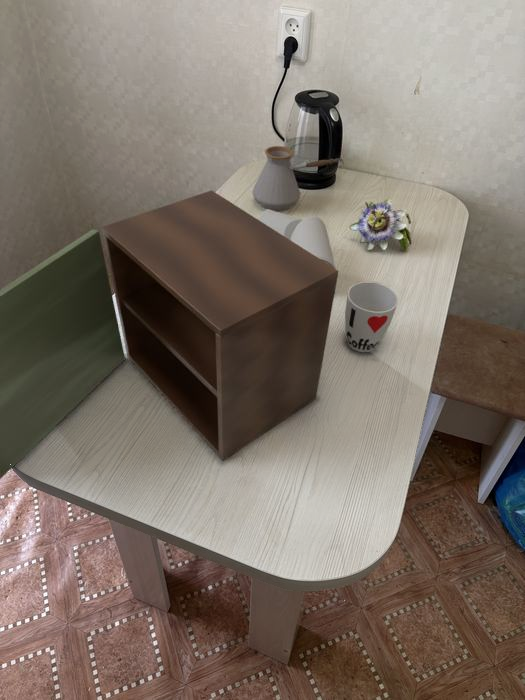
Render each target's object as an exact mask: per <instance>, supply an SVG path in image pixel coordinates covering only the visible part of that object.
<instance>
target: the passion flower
mask: <svg viewBox="0 0 525 700" xmlns="http://www.w3.org/2000/svg"><path fill="white" fill-rule="evenodd" d="M392 205H393V201H392V198H391V197H389V196H388V197H386V199H384V200H383V202H380V203H378V202H377V203H375V202H374V201H373V200H372V201H370V202H369V204H368V202H367V201H365V206H366V207H365V209H361V211H360V213H361V215H362V217H361V218H359V219H358V221H357V222H354V223H352V224H351V225H349V229H350V230H351V231H356V232H357V231H358V232H359V233H360V235H361V236H360V241H359V244H367V247H366V248H367V249H366V251H369V252H370V251H372V250H374V249H375V247H376V246H377V244H378V245H379V247H380V249H381V250H383V251H386V250H387V249H388V247H389V245H390V242H391V239H394V240H398V242H399V245H400V248H401V250H402V251H406V250H408V246H410V245H412V237H411V232H410V230H409V229H408V228H407V224H406V223H405V222H403V221H401V220H400V219H401V218H403V217H406V219H407V221H408V225H411V224H412V219H411V217H410V214H409V213H407V210H406V209H397V210H393V209H391V208H392ZM408 244H409V245H408Z"/></svg>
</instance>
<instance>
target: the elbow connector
mask: <svg viewBox="0 0 525 700" xmlns="http://www.w3.org/2000/svg"><path fill="white" fill-rule="evenodd" d="M257 219H258V220H259V221H261V222H262V223H264V224H266V225H267V226H269V227H270V228H272V229H273V230H275V231H277V232H278V233H280V234H281V235H283V236H285V237H286V238H288V239H289V240H291V241H292V242H294V243H296V244H297V245H299V246H300V247H302V248H303V249H305V250H307V251H308V252H310V253H311V254H313V255H314V256H316V257H318V258H319V259H321V260H322V261H324V262H325V263H327V264H329V265H330V266H332V267H333V268H335V269H336V265H335V260H334V256H333V251H332V247H331V243H330V239H329V235H328V230H327V227H326V224H325V222H324V221H323V220H322V219H321V218H320V217H318V216H316V215H309V216H306V217H304V218H300V217H297V216H293V215H289V214H286V213H283V212H276V211H273V210H270V209H264V210H263V211H262V212H261V214H260V215H259V217H258V218H257ZM336 270H337V269H336Z"/></svg>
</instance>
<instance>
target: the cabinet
mask: <svg viewBox="0 0 525 700" xmlns="http://www.w3.org/2000/svg"><path fill="white" fill-rule="evenodd" d="M101 233H102V237H103V243H104V246H105V251H106V257H107V262H108V267H109V271H110V272H109V273H110V278H111V281H112V287H113V291H114V297H115V301H116V307H117V311H118V317H119V322H120V327H121V332H122V336H123V341H124V346H125V352H126V356H127V358H128V359H129V360H130V362H131V363H133V364H134V366H135V367H136V368H137V369H138V370H139V371H140V372H141V373H142V375H143V376H144V377H145V378H146V379H147V380H148V381H149V382H150V383H151V384H152V385H153V386H154V388H155V389H156V390H157V391H158V392H159V393H160V394H161V396H162V397H164V398H165V399H166V401H168V403H169V404H170V405H171V406H172V407H173V408H174V409H175V410H176V412H177V413H179V415H180V416H181V418H183V419H184V420H185V422H186V423H188V425H189V426H190V427H191V428H192V429H193V430H194V431H195V432H196V434H198V436H199V437H200V438H201V439H202V440H203V441H204V442H205V443H206V444H207V446H209V447H210V448H211V450H212V451H213V452H214V453H215V454H216V455H217V456H218V457H219V458H220V460H221V461H222V462H225V461H226V460H228V459H229V458H230V457H232V456H233V455H235V454H236V453H238V452H239V451H241V450H242V449H244V448H246V447H247V446H248V445H250V444H251V443H253V442H254V441H256V440H257V439H259V438H260V437H262V436H263V435H265V434H266V433H268V432H269V431H271V430H272V429H274V428H275V427H277V426H278V425H280V424H281V423H283V422H284V421H286V420H287V419H289V418H290V417H292V416H293V415H295V414H297V412H299V411H301V410H302V409H304V408H305V407H307V406H308V405H309V404H311V403H313V402H314V401H315V400H317V396H318V390H319V389H318V388H319V383H320V378H321V373H322V367H323V361H324V356H325V349H326V346H327V345H326V344H327V338H328V333H329V326H330V322H331V315H332V312H333V311H332V310H333V304H334V299H335V292H336V288H337V282H338V276H339V270H338V269H335V268H336V267H335V268H333V267H332V266H330V265H329V264H327V263H325V262H324V261H322V260H321V259H319V258H318V257H316V256H314V255H313V254H311V253H310V252H308V251H307V250H305V249H303V248H302V247H300V246H299V245H297V244H296V243H294V242H292V241H291V240H289V239H288V238H286V237H285V236H283V235H281V234H280V233H278V232H277V231H275V230H273V229H272V228H270V227H269V226H267V225H266V224H264V223H262V222H261V221H259V220H258V218H256V217H255V216H253V215H251V214H250V213H248V212H247V211H245V210H243V209H242V208H240V207H239V206H237V205H236V204H234V203H233V202H231V201H229V200H228V199H227V198H225V197H223V196H221V195H220V194H218V193H217V192H216V191H213V190H211V189H210V190H209V191H206V192H202V193H200V194H196V195H193V196H191V197H187V198H185V199H182V200H179V201H175V202H172V203H169V204H167V205H163V206H160V207H158V208H154V209H151V210H148V211H146V212H143V213H140V214H137V215H133V216H131V217H128V218H124V219H121V220H119V221H116V222H112V223H109V224H107V225H103V226H101Z"/></svg>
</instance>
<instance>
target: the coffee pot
mask: <svg viewBox="0 0 525 700" xmlns="http://www.w3.org/2000/svg"><path fill="white" fill-rule="evenodd" d="M264 153H265V155H266V158H267V160H266V162H265V164H264V166H263V168H262V170H261V172H260V174H259V176H258V178H257V180H256V182H255V184H254V186H253V188H252V197H253V198H254V201H256V203H257V204H258V205H259V206H260V207H261V208H262V209H264V210H266V209H270V210H273V211H276V212H279V213H281V212H285V211H288V210H289V209H291V208H292V207H293V206H295V205H296V204H297V202H299V200H300V198H301V191H300V188H299V185H298V182H297V179H296V176H295V174H294V170H299V169H304V168H315V167H316V168H317V167H323V166H326V165H333V164H334V163H337V164H338V168H339V169H343V168H344V167H345V166H344V165H345V161H344V160H343V159H342V158H341V157H340V158H335V159H334V158H332V157H331V158H329V159H320V160H315V161H311V162H306V163H301V164H300V163H299V164H291V162H290V161H291V158H292V157H293V155H294V151H293V150H292V149H291V148H288V147H287V146H282V145H273V146H269V147H267V148H266V149H265V150H264ZM341 162H342V166H340V163H341Z"/></svg>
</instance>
